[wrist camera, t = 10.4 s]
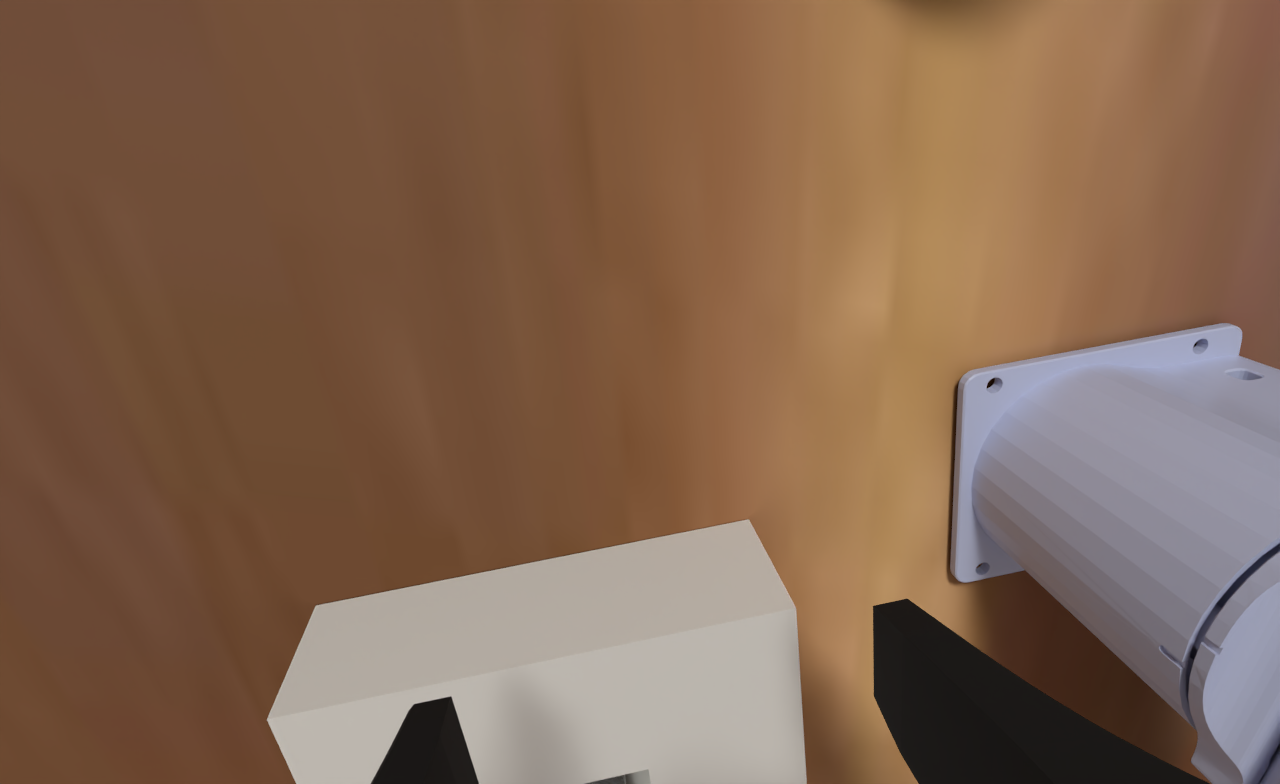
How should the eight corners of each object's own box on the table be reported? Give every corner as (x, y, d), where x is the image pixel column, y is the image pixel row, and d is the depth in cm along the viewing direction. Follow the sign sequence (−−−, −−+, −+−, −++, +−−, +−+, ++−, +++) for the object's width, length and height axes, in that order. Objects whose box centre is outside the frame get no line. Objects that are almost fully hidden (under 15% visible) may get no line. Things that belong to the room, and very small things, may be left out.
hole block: (748, 519, 23) (796, 608, 19) (774, 810, 29) (815, 928, 25) (315, 605, 22) (267, 719, 18) (427, 891, 28) (409, 1030, 23)
